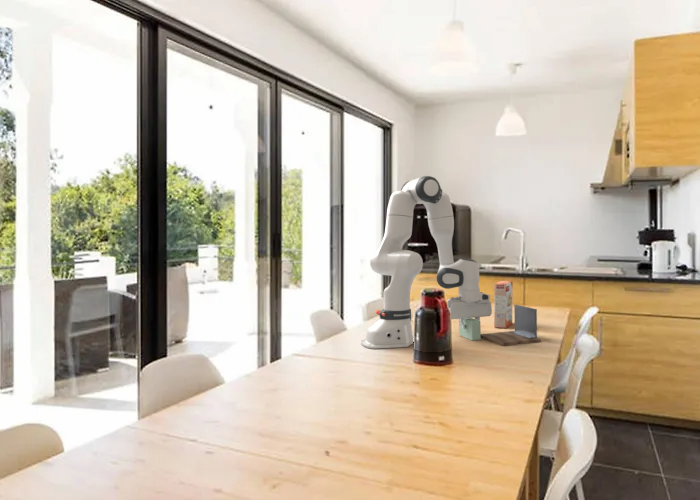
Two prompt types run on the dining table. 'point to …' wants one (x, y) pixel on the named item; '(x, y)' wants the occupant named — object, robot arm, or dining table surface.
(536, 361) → the dining table surface
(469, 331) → the pale green block
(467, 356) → the dining table surface
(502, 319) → the cracker box
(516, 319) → the bookend
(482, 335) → the shelf board
